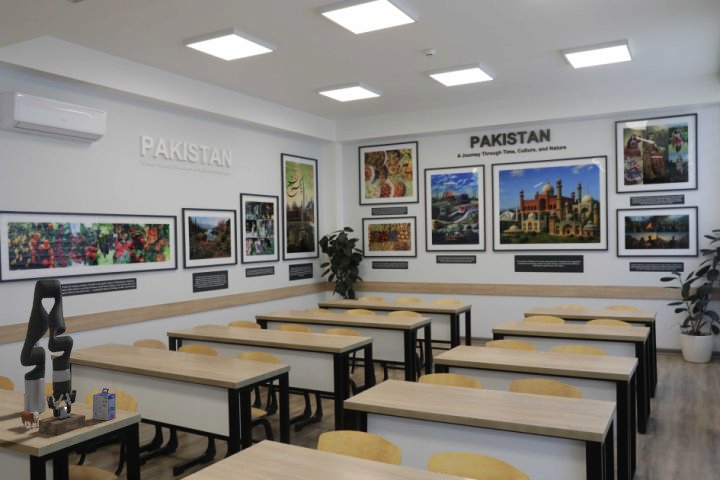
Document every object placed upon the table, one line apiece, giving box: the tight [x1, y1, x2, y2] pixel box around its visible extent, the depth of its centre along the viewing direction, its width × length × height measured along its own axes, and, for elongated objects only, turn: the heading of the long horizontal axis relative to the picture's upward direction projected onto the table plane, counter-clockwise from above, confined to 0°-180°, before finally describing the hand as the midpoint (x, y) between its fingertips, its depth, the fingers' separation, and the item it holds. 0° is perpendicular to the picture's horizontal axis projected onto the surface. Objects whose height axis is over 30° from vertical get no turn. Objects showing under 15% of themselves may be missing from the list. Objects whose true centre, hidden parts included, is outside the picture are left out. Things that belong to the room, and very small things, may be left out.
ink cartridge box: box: [92, 387, 117, 422], centre depth 282 cm, size 10×6×14 cm, turn 72°
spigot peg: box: [58, 405, 67, 421], centre depth 268 cm, size 4×4×9 cm
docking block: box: [38, 412, 87, 436], centre depth 268 cm, size 14×14×5 cm
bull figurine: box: [20, 410, 42, 429], centre depth 271 cm, size 4×13×8 cm, turn 58°
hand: (62, 414), depth 268 cm, fingers open, 5 cm apart
